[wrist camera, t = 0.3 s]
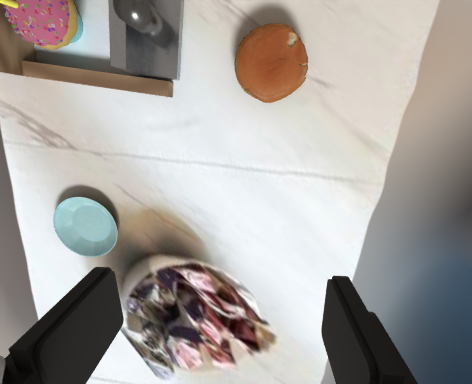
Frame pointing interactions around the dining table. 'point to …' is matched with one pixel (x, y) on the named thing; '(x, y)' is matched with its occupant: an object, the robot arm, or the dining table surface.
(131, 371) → the dining table surface
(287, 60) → the burger
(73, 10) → the cupcake
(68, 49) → the dining table surface
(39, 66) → the press bed
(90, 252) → the saucer
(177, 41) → the ram
